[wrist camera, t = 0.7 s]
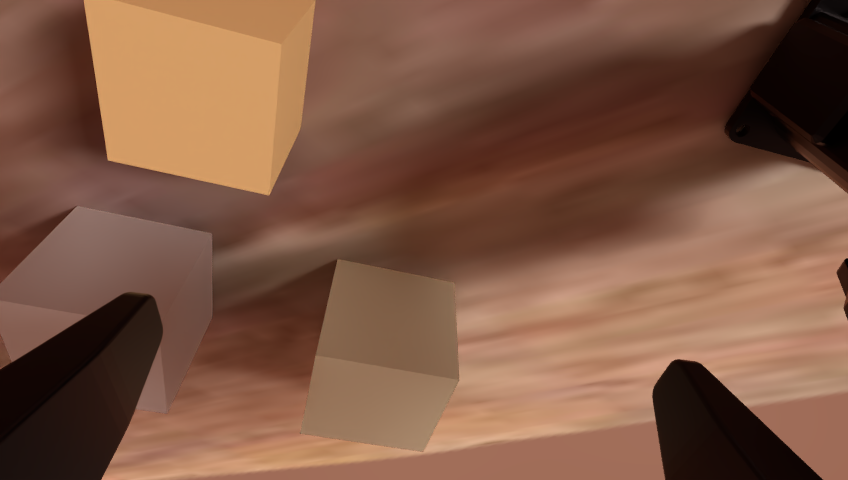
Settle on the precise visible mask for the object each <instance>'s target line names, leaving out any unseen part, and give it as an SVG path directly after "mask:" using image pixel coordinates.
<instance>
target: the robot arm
mask: <svg viewBox="0 0 848 480" xmlns="http://www.w3.org/2000/svg"><path fill="white" fill-rule="evenodd" d="M742 125H745V126H744V128H743V129H742V130H741V131H739V132H736V130H737V129H738V128H739V127H740V126H742ZM725 134H726V136H727V137H729V138H730V139H731V140H732V141H734V142H736V143H740V144H744V145H748V146H751V147H755V148H759V149H762V150H766V151H770V152H774V153H777V154H781V155H785V156H788V157H792V158H796V159H799V160H803V161H807V162H811V163H812V164H813V165H814V166H815V167H817V168H818V169H819V170H820V171H821V172H823V173H824V174H825V175H826V176H827V177H829V178H830V179H831V180H832V181H833V182H835V183H836V184H837V185H838V186H839V187H841V188H842V189H843V190H844V191H845V192H847V193H848V0H811V2H810V3H809V5H808V6H807V8H806V9H805V11H804V12H803V13H802V15H801V16H800V18H799V19H798V21H797V22H796V23H795V24H794V25H793V26H792V28H791V29H790V31H789V32H788V34H787V35H786V37H785V38H784V40H783V41H782V42H781V44H780V45H779V47H778V48H777V50H776V51H775V53H774V54H773V55H772V57H771V58H770V60H769V61H768V63H767V64H766V66H765V67H764V69H763V70H762V71H761V73H760V74H759V76H758V77H757V79H756V80H755V82H754V83H753V85H752V86H751V88H750V90H749V92H748V93H747V95H746V96H745V98H744V99H743V100H742V102H741V103H740V105H739V106H738V108H737V109H736V111H735V112H734V113H733V115H732V116H731V118H730V119H729V121H728V122H727V124H726V126H725ZM837 275H838V278H839V280H840V283H841V286H842V288H843V291H844V293H845V296H846V300H845V304H844V311H845V314H846V317H847V319H848V258H846V259H845V260H844V262H843V263H842V264H841V266H840V267H839V269H838V270H837ZM162 337H163V324H162V321H161V317H160V314H159V310H158V307H157V303H156V300H155V298H154V297H153V296H152V295H150V294H145V293H137V292H126V293H123V294H121V295H119V296H118V297H116V298H115V299H113V300H111V301H110V302H108V303H107V304H105V305H103V306H102V307H100V308H99V309H97V310H95V311H94V312H92V313H90V314H89V315H87V316H86V317H84V318H82V319H81V320H79V321H78V322H76V323H74V324H73V325H71V326H70V327H68V328H66V329H65V330H63V331H61V332H60V333H58V334H57V335H55V336H53V337H52V338H50V339H49V340H47V341H45V342H44V343H42V344H41V345H39V346H37V347H36V348H34V349H33V350H31V351H29V352H28V353H26V354H24V355H23V356H21V357H20V358H18V359H16V360H15V361H13V362H12V363H10V364H8V365H7V366H5V367H4V368H2V369H0V480H101V479H102V477H103V475H104V473H105V471H106V469H107V467H108V465H109V463H110V461H111V459H112V458H113V456H114V454H115V452H116V450H117V448H118V446H119V444H120V442H121V440H122V438H123V436H124V434H125V432H126V430H127V428H128V426H129V424H130V421H131V419H132V416H133V414H134V411H135V409H136V406H137V404H138V401H139V398H140V396H141V393H142V391H143V388H144V385H145V383H146V380H147V377H148V375H149V372H150V369H151V367H152V364H153V362H154V359H155V356H156V354H157V351H158V348H159V346H160V343H161V340H162ZM652 398H653V405H654V412H655V418H656V425H657V431H658V437H659V444H660V450H661V457H662V462H663V469H664V474H665V480H823V479H822V478H821V477H820V476H818V475H817V474H816V473H815V472H814V471H813V470H812V469H811V468H810V467H809V466H808V465H807V464H806V463H805V462H804V461H803V460H802V459H801V458H799V456H797V455H796V454H795V453H794V452H793V451H792V450H791V449H790V448H789V447H788V446H787V445H786V444H785V443H784V442H783V441H782V440H781V439H780V438H779V437H777V436H776V435H775V434H774V433H773V432H772V431H771V430H770V429H769V428H768V427H767V426H766V425H765V424H764V423H763V422H762V421H761V420H760V419H759V418H758V417H757V416H755V415H754V414H753V413H752V412H751V411H750V410H749V409H748V408H747V407H746V406H745V405H744V404H743V403H742V402H741V401H740V400H739V399H738V398H737V397H736V396H735V395H734V394H732V393H731V392H730V391H729V390H728V389H727V388H726V387H725V386H724V385H723V384H722V383H721V382H720V381H719V380H718V379H717V378H716V377H715V376H714V375H713V374H711V373H710V372H709V371H708V370H707V369H706V368H705V367H704V366H703V365H702V364H700V363H698V362H695V361H688V360H680V359H677V360H674V361H672V362H671V363H670V364H669V366H668V367H667V369H666V370H665V371H664V373H663V374H662V376H661V377H660V378H659V380H658V381H657V383H656V384H655V386H654V389H653V396H652Z"/></svg>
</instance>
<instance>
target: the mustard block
mask: <svg viewBox="0 0 848 480" xmlns="http://www.w3.org/2000/svg"><path fill="white" fill-rule="evenodd" d="M84 5H85V11H86V18H87V25H88V31H89V38H90V45H91V51H92V58H93V64H94V71H95V78H96V84H97V91H98V97H99V104H100V111H101V117H102V124H103V131H104V137H105V144H106V150H107V157H108V160H109V161H114V162H118V163H123V164H127V165H132V166H137V167H141V168H146V169H150V170H155V171H160V172H164V173H169V174H173V175H178V176H183V177H187V178H192V179H196V180H201V181H206V182H210V183H215V184H219V185H224V186H229V187H233V188H238V189H242V190H247V191H251V192H256V193H261V194H265V195H270V193H271V191H272V188H273V186H274V184H275V182H276V180H277V178H278V176H279V174H280V171H281V169H282V167H283V165H284V163H285V161H286V159H287V157H288V154H289V152H290V150H291V148H292V146H293V144H294V142H295V140H296V137H297V135H298V133H299V131H300V129H301V120H302V112H303V103H304V94H305V86H306V77H307V69H308V60H309V52H310V43H311V34H312V26H313V17H314V9H315V0H84Z"/></svg>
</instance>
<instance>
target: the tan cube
mask: <svg viewBox="0 0 848 480" xmlns="http://www.w3.org/2000/svg"><path fill="white" fill-rule="evenodd" d="M458 382H459V362H458V343H457V323H456V303H455V283H454V282H449V281H444V280H440V279H435V278H430V277H425V276H420V275H415V274H410V273H405V272H400V271H395V270H390V269H385V268H380V267H376V266H371V265H366V264H361V263H356V262H351V261H346V260H341V259H338V260H337V264H336V268H335V273H334V277H333V281H332V286H331V290H330V295H329V299H328V303H327V308H326V312H325V316H324V321H323V325H322V329H321V334H320V338H319V342H318V347H317V351H316V355H315V360H314V366H313V371H312V376H311V381H310V386H309V391H308V396H307V401H306V406H305V411H304V416H303V421H302V426H301V431H300V434H305V435H312V436H319V437H325V438H332V439H339V440H346V441H352V442H359V443H366V444H372V445H379V446H386V447H393V448H399V449H406V450H413V451H419V452H423V451H424V449H425V447H426V445H427V443H428V441H429V439H430V437H431V435H432V433H433V431H434V429H435V427H436V425H437V423H438V421H439V419H440V418H441V416H442V414H443V412H444V410H445V408H446V406H447V404H448V402H449V400H450V398H451V396H452V394H453V392H454V390H455V388H456V386H457V384H458Z"/></svg>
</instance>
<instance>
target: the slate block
mask: <svg viewBox="0 0 848 480" xmlns="http://www.w3.org/2000/svg"><path fill="white" fill-rule="evenodd" d="M126 292H137V293H145V294H150V295H152V296H153V297H154V298H155V300H156V303H157V307H158V310H159V314H160V317H161V321H162V324H163V337H162V340H161V343H160V346H159V348H158V351H157V354H156V356H155V359H154V362H153V364H152V367H151V369H150V372H149V375H148V377H147V380H146V383H145V385H144V388H143V391H142V393H141V396H140V398H139V401H138V404H137V406H136V409H138V410H145V411H152V412H158V413H165V414H168V411H169V409H170V407H171V405H172V403H173V401H174V399H175V397H176V394H177V392H178V390H179V388H180V386H181V384H182V382H183V379H184V377H185V375H186V373H187V371H188V369H189V367H190V364H191V362H192V360H193V358H194V356H195V354H196V352H197V350H198V347H199V345H200V343H201V341H202V339H203V337H204V335H205V332H206V330H207V328H208V326H209V324H210V322H211V320H212V317H213V293H212V233H208V232H203V231H198V230H193V229H188V228H183V227H178V226H174V225H169V224H164V223H159V222H154V221H149V220H144V219H139V218H134V217H129V216H124V215H119V214H114V213H110V212H105V211H100V210H95V209H90V208H85V207H80V206H77V207H76V208H75V209H74V210H73V211H72V212H71V213H70V214H69V215H68V216H67V217H66V218H65V219H64V220H63V221H62V222H61V223H60V224H59V225H58V226H57V227H56V228H55V229H54V230H53V231H52V232H51V233H50V234H49V235H48V236H47V237H46V238H45V239H44V240H43V241H42V242H41V243H40V244H39V245H38V246H37V247H36V248H35V249H34V250H33V251H32V252H31V253H30V254H29V255H28V256H27V257H26V258H25V259H24V260H23V261H22V262H21V263H20V264H19V265H18V266H17V267H16V268H15V269H14V270H13V271H12V272H11V273H10V274H9V275H8V276H7V277H6V278H5V279H4V280H3V281H2V282H1V283H0V334H1V337H2V339H3V342H4V344H5V347H6V349H7V352H8V354H9V357H10V359H11V362H13V361H15V360H16V359H18V358H20V357H21V356H23V355H24V354H26V353H28V352H29V351H31V350H33V349H34V348H36V347H37V346H39V345H41V344H42V343H44V342H45V341H47V340H49V339H50V338H52V337H53V336H55V335H57V334H58V333H60V332H61V331H63V330H65V329H66V328H68V327H70V326H71V325H73V324H74V323H76V322H78V321H79V320H81V319H82V318H84V317H86V316H87V315H89V314H90V313H92V312H94V311H95V310H97V309H99V308H100V307H102V306H103V305H105V304H107V303H108V302H110V301H111V300H113V299H115V298H116V297H118V296H119V295H121V294H123V293H126Z"/></svg>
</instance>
